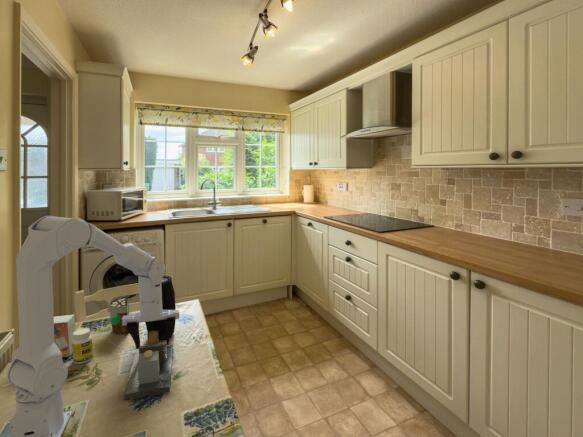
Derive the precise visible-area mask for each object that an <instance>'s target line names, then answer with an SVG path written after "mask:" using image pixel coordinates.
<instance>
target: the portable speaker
mask: <svg viewBox="0 0 583 437" xmlns="http://www.w3.org/2000/svg"><path fill="white" fill-rule="evenodd" d="M173 284H174V283H173V278H172V276H171V275H163V281H162V283H161V287H162V310H177V309H176V291H175V288H174V285H173ZM176 320H177V319H175V322H176ZM144 323H145V327H146V331H147V332H146V334H147V333H148V332H150V331H158V342H166V319H164V320H156V321H148V322H144ZM175 329H176V324H175V325H174V327H173V329H172V332H171V335H170V339H171V338H173V335H174V333H175Z"/></svg>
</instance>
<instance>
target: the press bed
mask: <svg viewBox="0 0 583 437" xmlns="http://www.w3.org/2000/svg"><path fill="white" fill-rule="evenodd" d="M173 356H174V344H173V345H172V344H170V345H166V343H164V362H159V368H160V372H159V380H158V381H156V382H151V383H145V384H139V379H138V359H139V349H136V351H135V354H134V358H133V362H132V365H131V368H130V372H129V376H128V378H127V383H126V386H125V389H124V392H123V401H129V400H133V399H140V398H145V397H151V396H155V395H160V394H168V393H171V385H172V371H173V358H174V357H173Z"/></svg>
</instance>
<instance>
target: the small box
mask: <svg viewBox="0 0 583 437" xmlns="http://www.w3.org/2000/svg"><path fill="white" fill-rule="evenodd" d="M75 316H76V315H75V314H67V315H66V314H65V315H57V316H54V342H55V344H56V345H57V347H58V348H59V350H60V352H61V353H62V358H65V357H67V358H68V357H70V356H71V355H73V350H72V340H73V333H74V332H75V331H77V329H76V317H75Z"/></svg>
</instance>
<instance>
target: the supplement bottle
mask: <svg viewBox="0 0 583 437" xmlns="http://www.w3.org/2000/svg"><path fill="white" fill-rule="evenodd" d="M72 350H73V352H72V361H73V363H74V364H76V365H81V364H85V363H88V362H90V361H91V360H93V357H94V348H93V336H92V335H91V330H90V329H89V328H81V329H78V330H77V329H76V331H75V332H74V333H73V340H72Z"/></svg>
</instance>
